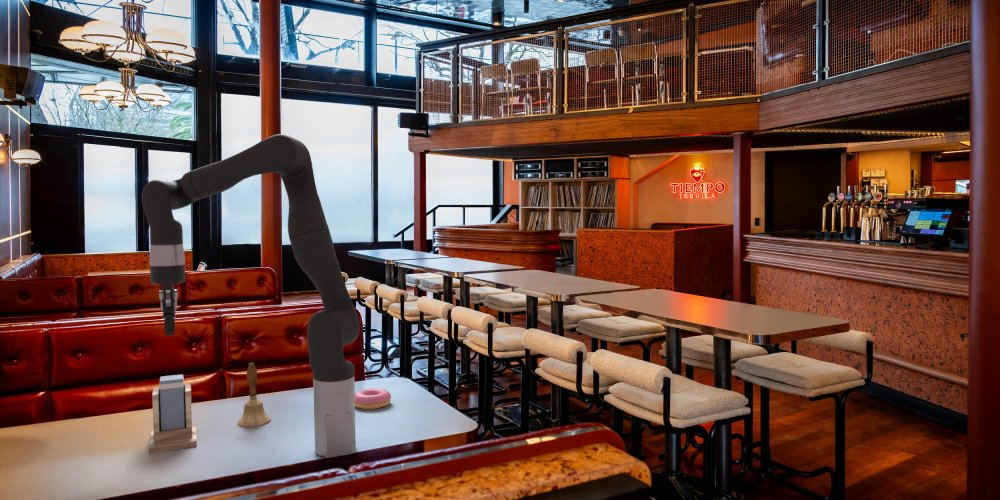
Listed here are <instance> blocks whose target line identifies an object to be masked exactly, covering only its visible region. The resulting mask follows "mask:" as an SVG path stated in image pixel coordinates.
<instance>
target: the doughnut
mask: <svg viewBox="0 0 1000 500" xmlns="http://www.w3.org/2000/svg"><path fill="white" fill-rule="evenodd" d="M391 399H392V395H391V393H390V391H388V390H387V389H383V388H367V389H361V390H358V392H356V393H355V408H358V409H360V408H361V410H376V409H375V408H379V409H381V408H380V407H383V406H385V407H387V406H388V405H389V404H390V403H391ZM386 405H387V406H386ZM383 408H384V407H383Z"/></svg>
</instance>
